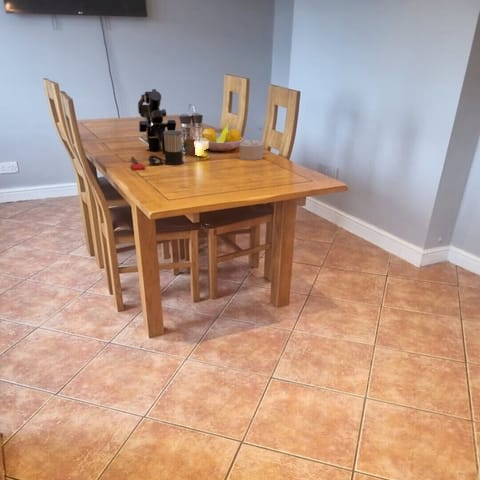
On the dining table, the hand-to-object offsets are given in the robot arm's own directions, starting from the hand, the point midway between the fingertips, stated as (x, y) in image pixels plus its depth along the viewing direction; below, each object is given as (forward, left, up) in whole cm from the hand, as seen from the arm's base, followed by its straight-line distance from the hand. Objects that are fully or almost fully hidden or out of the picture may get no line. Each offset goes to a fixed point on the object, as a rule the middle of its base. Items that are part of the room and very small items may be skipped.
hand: (160, 140), depth 233 cm
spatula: (+18, 0, -9) cm, 20 cm away
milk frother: (+7, +10, -9) cm, 15 cm away
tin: (-16, +10, -9) cm, 21 cm away
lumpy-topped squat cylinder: (-31, +36, -9) cm, 48 cm away
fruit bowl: (-39, +11, -9) cm, 41 cm away
